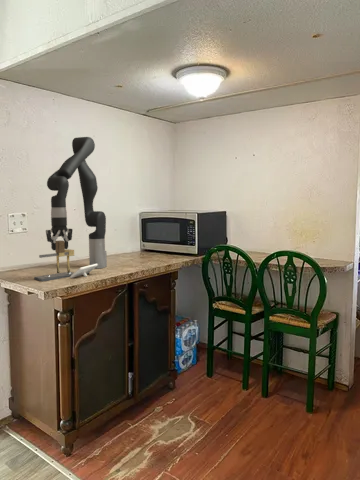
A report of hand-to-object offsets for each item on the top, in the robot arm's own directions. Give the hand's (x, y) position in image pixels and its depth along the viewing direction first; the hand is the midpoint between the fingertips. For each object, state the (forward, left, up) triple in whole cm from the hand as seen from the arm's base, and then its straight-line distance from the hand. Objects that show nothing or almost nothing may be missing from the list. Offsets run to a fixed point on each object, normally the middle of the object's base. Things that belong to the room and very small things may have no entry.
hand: (60, 249), depth 189 cm
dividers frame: (+2, -1, -13) cm, 13 cm away
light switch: (-11, +5, -15) cm, 19 cm away
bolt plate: (+1, -3, -15) cm, 15 cm away
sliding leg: (0, -1, -12) cm, 12 cm away
